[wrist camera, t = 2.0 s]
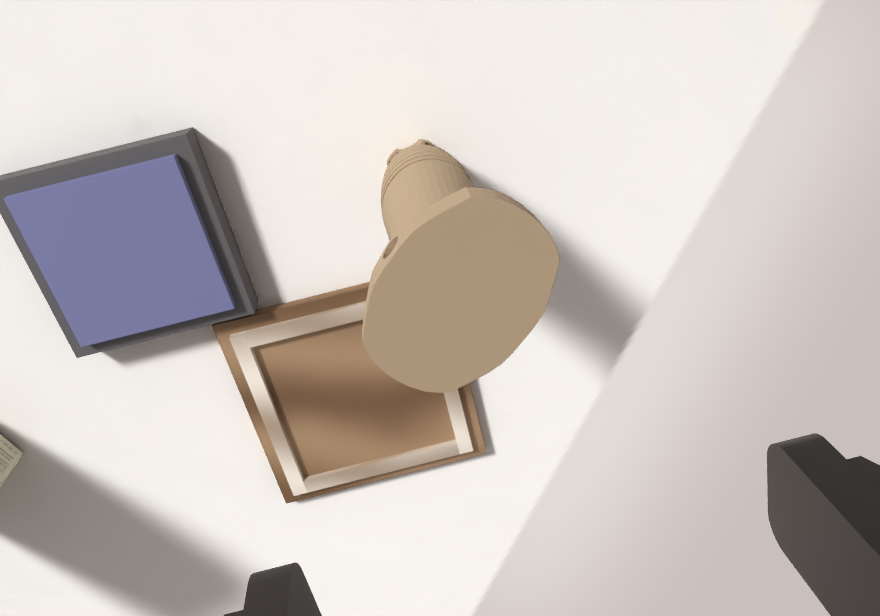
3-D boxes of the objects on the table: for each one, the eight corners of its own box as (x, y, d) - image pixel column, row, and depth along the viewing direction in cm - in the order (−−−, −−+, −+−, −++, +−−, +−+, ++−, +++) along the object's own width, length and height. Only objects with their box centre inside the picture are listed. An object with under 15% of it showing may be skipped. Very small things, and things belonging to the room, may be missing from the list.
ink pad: (0, 175, 32) (-21, 187, 30) (192, 127, 32) (183, 136, 30) (87, 343, 36) (73, 363, 34) (258, 300, 36) (253, 317, 34)
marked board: (214, 320, 36) (210, 329, 35) (440, 264, 36) (442, 271, 35) (287, 496, 41) (285, 508, 41) (484, 446, 41) (487, 457, 41)
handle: (497, 145, 34) (591, 258, 20) (419, 249, 36) (459, 416, 22) (416, 85, 32) (460, 164, 19) (339, 197, 34) (329, 342, 21)
